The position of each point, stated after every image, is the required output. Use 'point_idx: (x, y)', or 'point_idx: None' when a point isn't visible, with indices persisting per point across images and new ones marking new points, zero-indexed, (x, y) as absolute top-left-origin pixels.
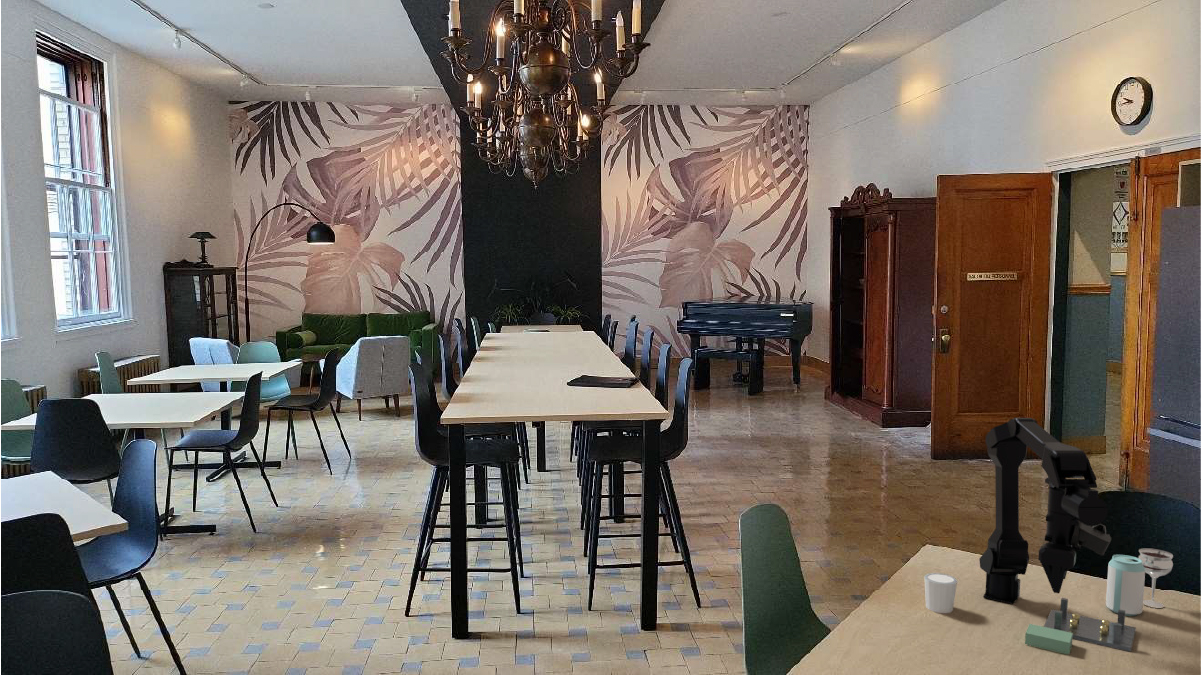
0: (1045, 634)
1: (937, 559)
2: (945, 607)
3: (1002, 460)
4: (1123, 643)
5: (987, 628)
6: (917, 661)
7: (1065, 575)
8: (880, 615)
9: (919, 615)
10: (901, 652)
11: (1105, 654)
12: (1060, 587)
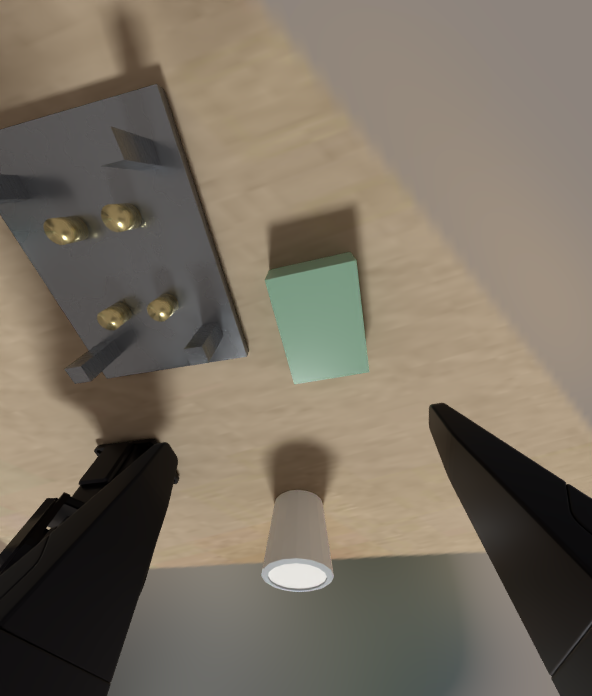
0: (341, 333)
1: None
2: (315, 505)
3: None
4: (141, 127)
5: (329, 431)
6: (588, 458)
7: (153, 460)
8: (403, 539)
9: (359, 512)
10: None
11: (262, 161)
12: (481, 429)
